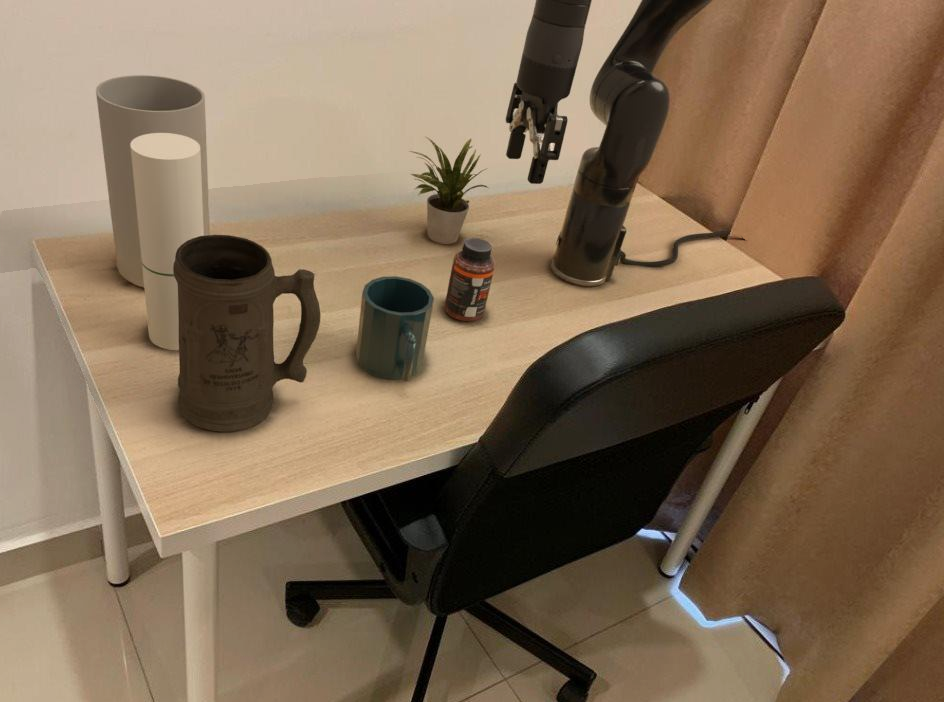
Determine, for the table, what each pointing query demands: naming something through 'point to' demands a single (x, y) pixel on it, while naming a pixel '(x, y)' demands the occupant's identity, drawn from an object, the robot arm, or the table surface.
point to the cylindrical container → (165, 221)
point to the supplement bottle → (470, 280)
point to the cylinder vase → (134, 114)
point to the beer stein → (235, 330)
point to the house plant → (447, 195)
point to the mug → (393, 327)
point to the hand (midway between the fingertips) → (523, 169)
